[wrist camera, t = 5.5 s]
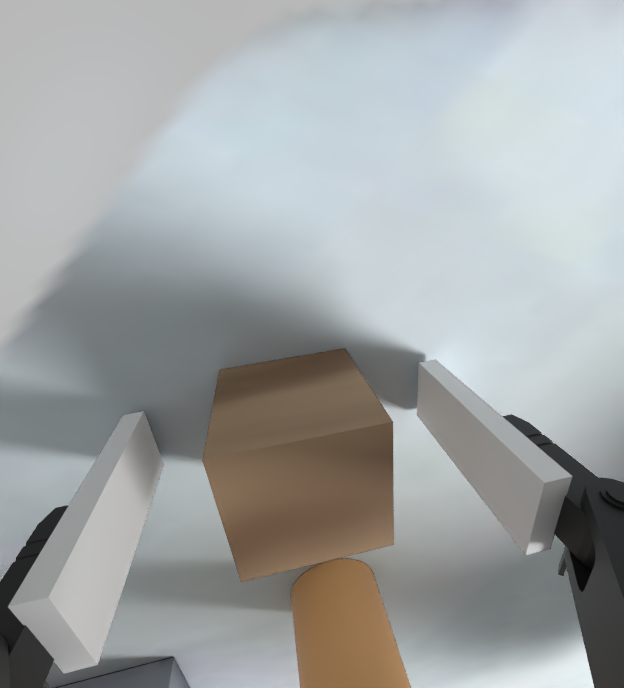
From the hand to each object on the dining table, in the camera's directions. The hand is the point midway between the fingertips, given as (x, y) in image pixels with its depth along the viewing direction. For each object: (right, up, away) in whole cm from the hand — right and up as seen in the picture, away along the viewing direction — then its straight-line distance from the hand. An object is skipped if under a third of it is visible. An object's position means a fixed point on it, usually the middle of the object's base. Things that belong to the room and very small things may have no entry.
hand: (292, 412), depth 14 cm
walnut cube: (0, 0, 0) cm, 0 cm away
